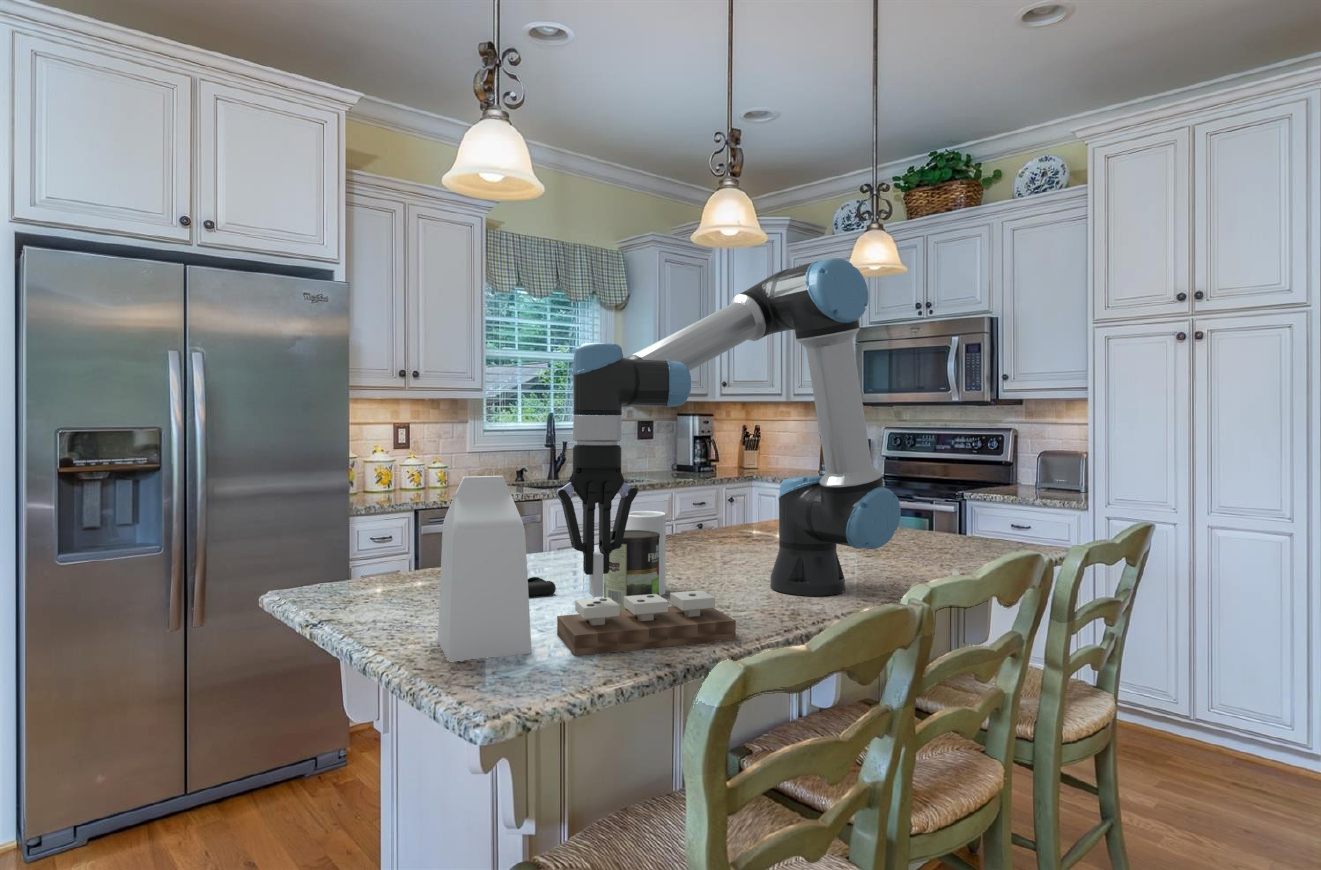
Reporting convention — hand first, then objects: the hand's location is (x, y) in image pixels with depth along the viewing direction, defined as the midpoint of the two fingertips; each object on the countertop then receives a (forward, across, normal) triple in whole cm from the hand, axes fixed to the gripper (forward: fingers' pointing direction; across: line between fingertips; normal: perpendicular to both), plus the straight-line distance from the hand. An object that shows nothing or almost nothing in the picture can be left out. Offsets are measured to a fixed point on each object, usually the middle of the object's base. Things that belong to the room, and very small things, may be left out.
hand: (596, 594), depth 120 cm
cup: (+7, -18, -30) cm, 36 cm away
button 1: (+5, -16, 0) cm, 17 cm away
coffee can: (+8, -11, -17) cm, 22 cm away
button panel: (+7, -8, 0) cm, 11 cm away
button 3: (+5, 0, 0) cm, 5 cm away
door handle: (+8, +9, -40) cm, 41 cm away
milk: (+8, +17, -3) cm, 19 cm away
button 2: (+5, -8, 0) cm, 9 cm away
